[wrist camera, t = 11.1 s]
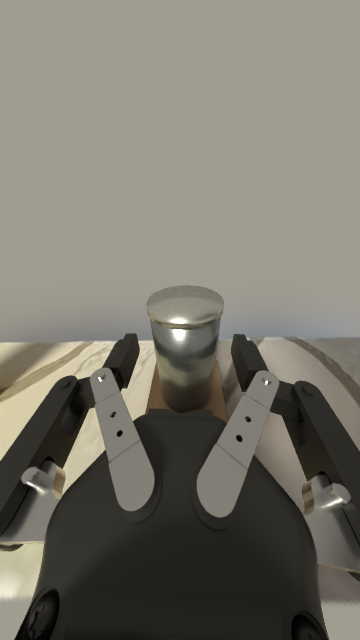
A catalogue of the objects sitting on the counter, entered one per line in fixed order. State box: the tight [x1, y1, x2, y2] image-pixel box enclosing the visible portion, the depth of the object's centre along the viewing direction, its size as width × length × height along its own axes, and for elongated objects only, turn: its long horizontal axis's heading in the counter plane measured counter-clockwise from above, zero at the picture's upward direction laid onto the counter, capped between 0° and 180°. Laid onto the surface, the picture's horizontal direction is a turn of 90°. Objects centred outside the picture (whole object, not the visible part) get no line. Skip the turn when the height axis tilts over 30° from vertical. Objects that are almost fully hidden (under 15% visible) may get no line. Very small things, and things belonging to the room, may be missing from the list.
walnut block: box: [145, 361, 228, 423], centre depth 20 cm, size 8×8×4 cm
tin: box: [146, 286, 224, 413], centre depth 15 cm, size 6×6×11 cm
